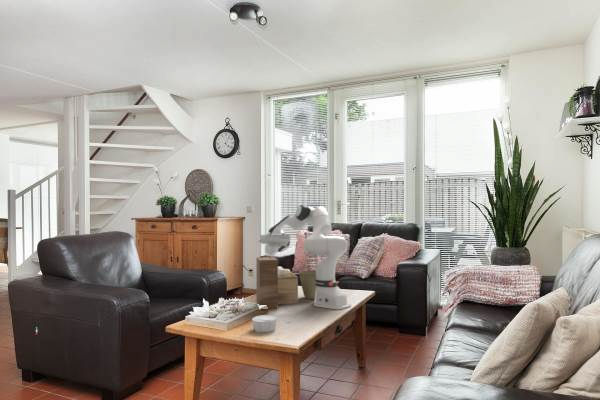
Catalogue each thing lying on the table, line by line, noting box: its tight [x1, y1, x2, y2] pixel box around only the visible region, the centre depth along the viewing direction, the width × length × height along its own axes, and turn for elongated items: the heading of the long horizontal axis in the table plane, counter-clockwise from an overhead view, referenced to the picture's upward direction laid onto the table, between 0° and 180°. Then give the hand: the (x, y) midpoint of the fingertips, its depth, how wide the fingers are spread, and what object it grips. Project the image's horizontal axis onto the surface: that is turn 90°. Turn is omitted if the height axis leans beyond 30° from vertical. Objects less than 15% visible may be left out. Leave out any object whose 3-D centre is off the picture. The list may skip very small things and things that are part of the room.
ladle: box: [278, 265, 291, 277], centre depth 260 cm, size 25×6×4 cm, turn 13°
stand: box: [256, 255, 299, 311], centre depth 247 cm, size 33×24×28 cm
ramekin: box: [251, 314, 277, 333], centre depth 192 cm, size 11×11×5 cm
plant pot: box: [298, 269, 316, 300], centre depth 260 cm, size 15×15×16 cm
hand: (276, 233), depth 277 cm, fingers open, 8 cm apart
